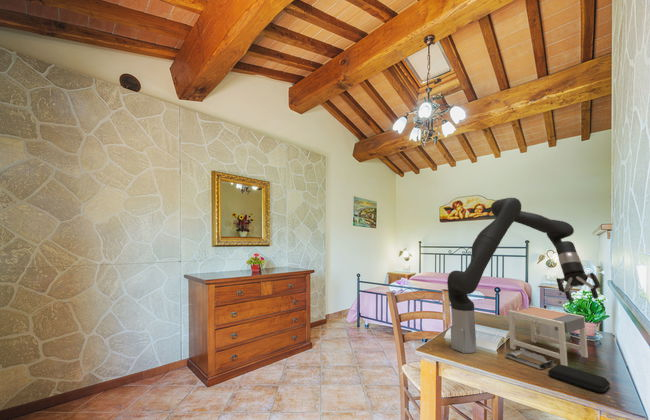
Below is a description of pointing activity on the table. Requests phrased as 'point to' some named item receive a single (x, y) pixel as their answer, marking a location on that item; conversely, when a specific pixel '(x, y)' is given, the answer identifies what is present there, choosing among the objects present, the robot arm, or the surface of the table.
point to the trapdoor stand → (534, 336)
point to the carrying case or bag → (579, 378)
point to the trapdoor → (557, 318)
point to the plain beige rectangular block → (548, 331)
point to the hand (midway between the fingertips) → (583, 299)
